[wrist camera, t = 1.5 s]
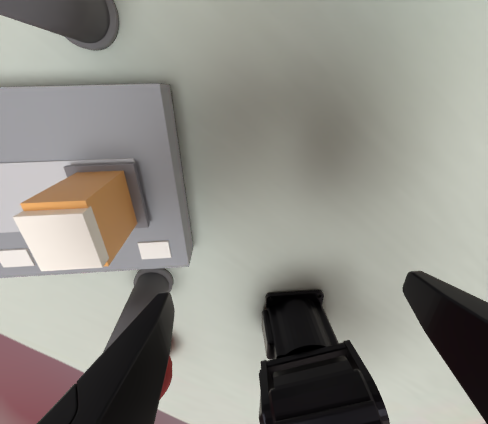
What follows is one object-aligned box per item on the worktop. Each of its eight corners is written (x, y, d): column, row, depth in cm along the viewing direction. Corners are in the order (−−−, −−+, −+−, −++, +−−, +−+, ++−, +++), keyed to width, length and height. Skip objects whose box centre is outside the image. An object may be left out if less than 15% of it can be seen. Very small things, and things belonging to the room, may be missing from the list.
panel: (169, 84, 17) (158, 83, 14) (193, 246, 23) (188, 268, 21) (-68, 90, 16) (-131, 90, 13) (23, 256, 23) (-6, 279, 20)
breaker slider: (135, 162, 16) (91, 197, 11) (149, 224, 18) (119, 278, 13) (67, 165, 16) (-12, 201, 11) (89, 228, 18) (34, 283, 13)
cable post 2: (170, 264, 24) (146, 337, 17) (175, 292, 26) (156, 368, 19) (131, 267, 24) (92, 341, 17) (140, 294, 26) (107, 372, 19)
